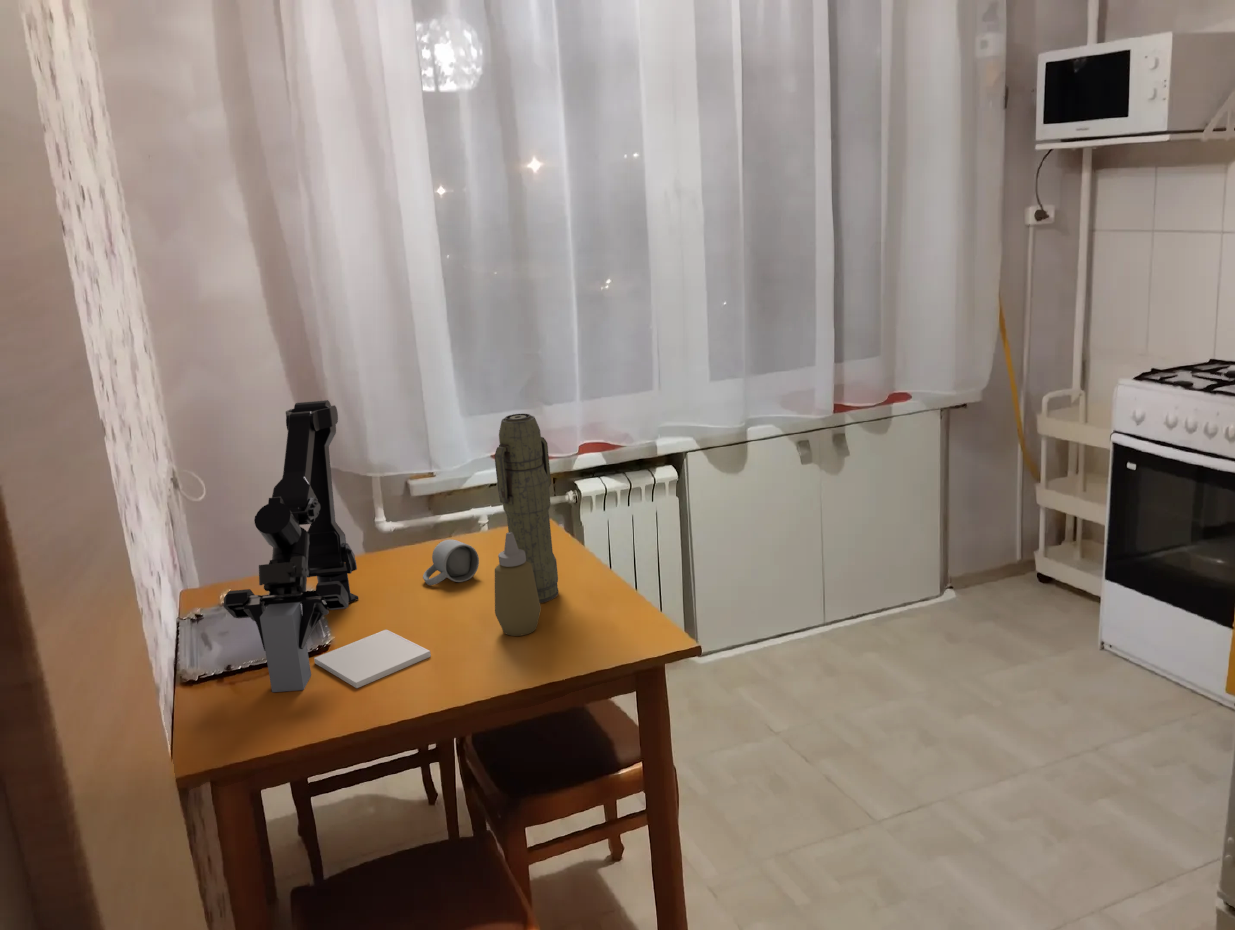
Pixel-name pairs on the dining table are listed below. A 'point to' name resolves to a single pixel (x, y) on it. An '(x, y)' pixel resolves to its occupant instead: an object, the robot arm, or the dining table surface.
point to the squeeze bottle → (515, 591)
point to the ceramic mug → (452, 562)
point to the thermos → (527, 496)
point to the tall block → (285, 647)
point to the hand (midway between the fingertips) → (283, 649)
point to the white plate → (372, 658)
